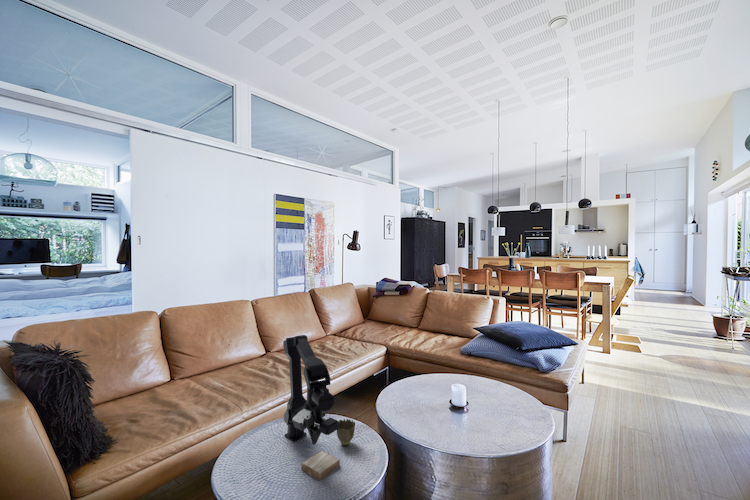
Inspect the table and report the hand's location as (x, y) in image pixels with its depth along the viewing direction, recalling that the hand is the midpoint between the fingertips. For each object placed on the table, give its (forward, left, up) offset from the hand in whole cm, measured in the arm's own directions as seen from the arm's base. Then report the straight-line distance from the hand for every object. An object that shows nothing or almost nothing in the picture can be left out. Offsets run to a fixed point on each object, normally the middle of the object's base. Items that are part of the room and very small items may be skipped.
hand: (314, 443), depth 116 cm
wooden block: (-1, 0, -6) cm, 6 cm away
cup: (+1, +16, -7) cm, 18 cm away
